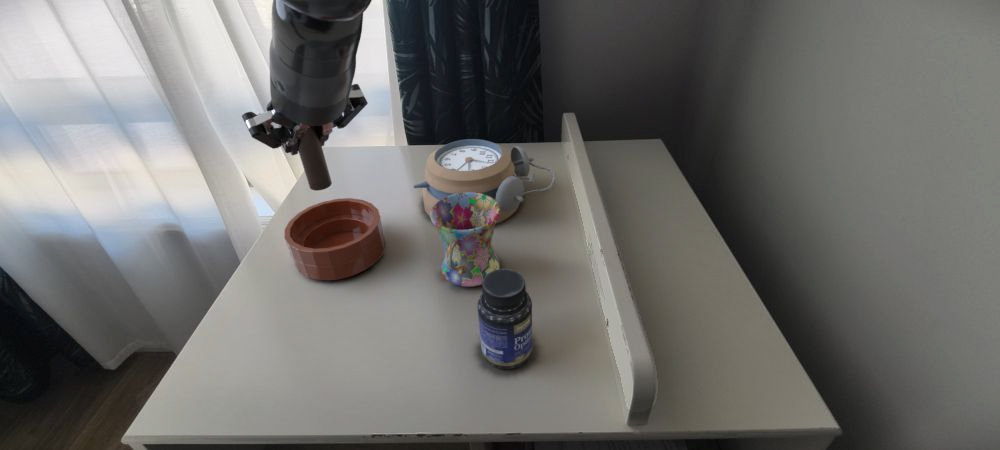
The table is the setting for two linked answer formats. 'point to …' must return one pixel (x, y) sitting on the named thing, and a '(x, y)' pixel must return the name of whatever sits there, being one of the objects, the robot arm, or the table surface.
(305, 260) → the bowl
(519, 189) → the alarm clock
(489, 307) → the pill bottle
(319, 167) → the stick
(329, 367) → the table surface
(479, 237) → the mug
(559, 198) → the table surface
